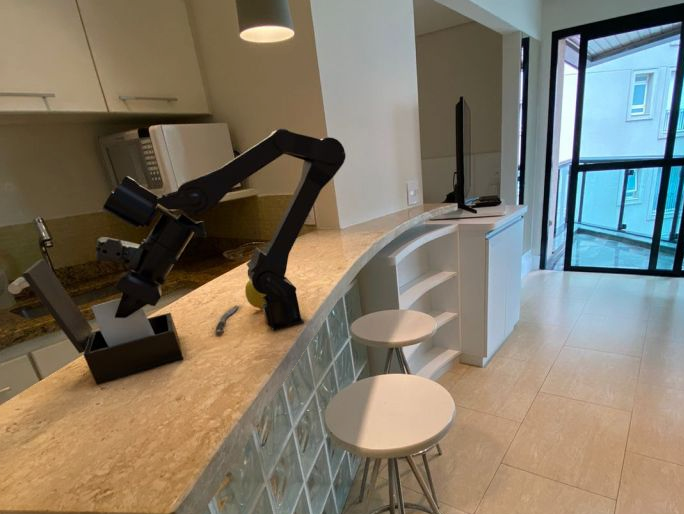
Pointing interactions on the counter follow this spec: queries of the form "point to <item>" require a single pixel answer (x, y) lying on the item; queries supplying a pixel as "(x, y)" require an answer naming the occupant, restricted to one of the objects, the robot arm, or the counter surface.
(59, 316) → the box lid
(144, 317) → the grey angular block
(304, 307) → the counter surface
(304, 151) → the robot arm
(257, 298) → the lemon
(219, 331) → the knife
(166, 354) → the black open box
